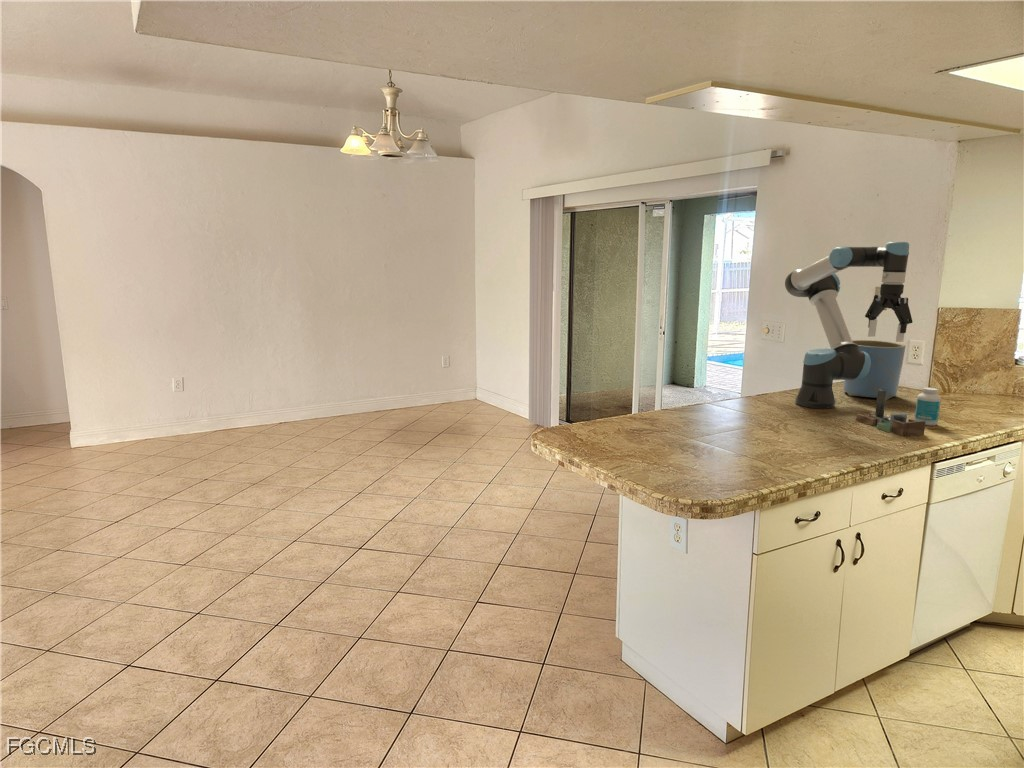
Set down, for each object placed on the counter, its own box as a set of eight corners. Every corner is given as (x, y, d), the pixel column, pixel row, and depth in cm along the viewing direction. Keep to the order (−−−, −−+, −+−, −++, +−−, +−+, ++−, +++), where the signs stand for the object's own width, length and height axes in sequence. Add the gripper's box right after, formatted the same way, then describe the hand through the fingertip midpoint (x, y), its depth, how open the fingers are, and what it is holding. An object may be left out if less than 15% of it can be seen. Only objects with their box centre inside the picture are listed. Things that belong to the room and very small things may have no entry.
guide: (855, 419, 240) (856, 413, 240) (870, 418, 242) (871, 412, 242) (872, 425, 233) (873, 419, 232) (887, 424, 235) (888, 417, 234)
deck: (876, 428, 229) (877, 423, 229) (898, 426, 232) (899, 421, 231) (889, 432, 224) (889, 426, 224) (911, 430, 227) (912, 425, 226)
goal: (891, 432, 224) (892, 418, 223) (909, 430, 226) (911, 417, 225) (905, 436, 219) (906, 422, 218) (923, 434, 221) (925, 421, 220)
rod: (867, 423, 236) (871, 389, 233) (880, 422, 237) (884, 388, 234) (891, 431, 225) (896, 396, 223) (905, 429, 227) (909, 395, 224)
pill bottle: (940, 426, 231) (946, 391, 228) (918, 425, 233) (923, 390, 230) (931, 421, 238) (936, 387, 236) (910, 420, 240) (915, 386, 237)
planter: (897, 403, 267) (904, 349, 262) (838, 396, 279) (844, 344, 274) (899, 393, 286) (906, 342, 281) (843, 387, 298) (849, 338, 293)
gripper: (859, 281, 247) (852, 334, 252) (911, 285, 223) (903, 344, 228) (875, 281, 249) (868, 334, 254) (929, 285, 225) (920, 343, 230)
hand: (885, 339), depth 241 cm, fingers open, 13 cm apart
